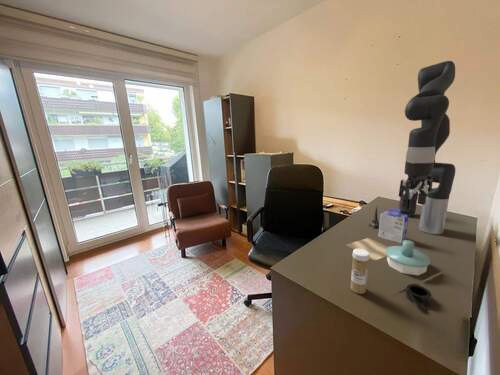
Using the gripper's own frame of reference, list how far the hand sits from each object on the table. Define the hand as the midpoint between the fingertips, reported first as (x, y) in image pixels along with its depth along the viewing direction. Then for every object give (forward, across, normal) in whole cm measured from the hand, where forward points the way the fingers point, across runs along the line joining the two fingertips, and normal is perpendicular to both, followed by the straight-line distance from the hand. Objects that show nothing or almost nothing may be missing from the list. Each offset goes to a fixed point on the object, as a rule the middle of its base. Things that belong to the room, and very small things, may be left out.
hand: (413, 206), depth 75 cm
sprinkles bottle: (+22, +28, +2) cm, 36 cm away
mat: (+23, +2, -13) cm, 26 cm away
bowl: (+23, +3, +1) cm, 23 cm away
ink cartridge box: (+23, -14, -15) cm, 31 cm away
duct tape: (+23, +16, +12) cm, 30 cm away
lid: (+19, +2, +1) cm, 19 cm away
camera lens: (+24, -49, -29) cm, 62 cm away
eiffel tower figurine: (+24, -18, -27) cm, 40 cm away
